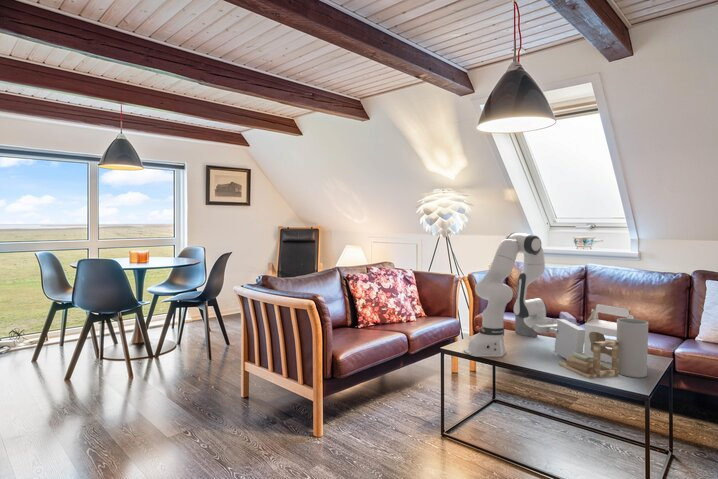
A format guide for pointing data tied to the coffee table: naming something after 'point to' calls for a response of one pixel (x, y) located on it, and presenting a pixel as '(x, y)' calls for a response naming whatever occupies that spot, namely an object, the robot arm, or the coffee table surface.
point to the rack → (596, 361)
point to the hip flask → (523, 328)
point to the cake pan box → (567, 317)
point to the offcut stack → (581, 362)
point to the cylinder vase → (632, 347)
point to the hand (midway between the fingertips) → (561, 331)
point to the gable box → (602, 329)
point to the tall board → (568, 338)
